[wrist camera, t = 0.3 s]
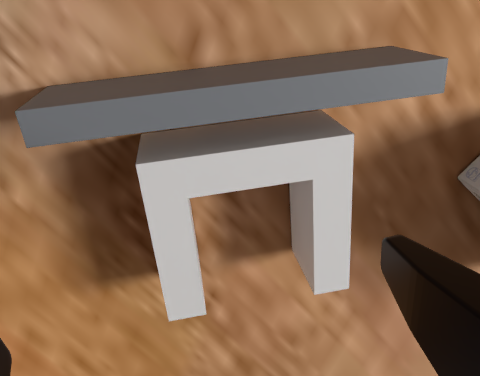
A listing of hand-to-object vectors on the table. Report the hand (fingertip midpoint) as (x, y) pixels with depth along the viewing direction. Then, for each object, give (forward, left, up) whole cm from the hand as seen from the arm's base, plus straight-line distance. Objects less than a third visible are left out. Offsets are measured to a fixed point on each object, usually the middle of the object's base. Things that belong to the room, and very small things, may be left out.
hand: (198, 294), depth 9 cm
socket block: (-5, -3, -14) cm, 15 cm away
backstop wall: (+2, -3, -14) cm, 15 cm away
